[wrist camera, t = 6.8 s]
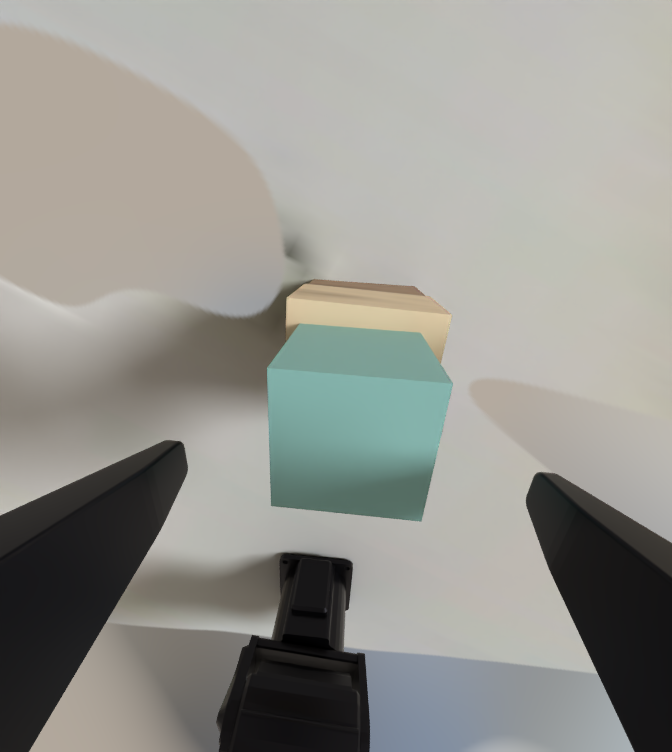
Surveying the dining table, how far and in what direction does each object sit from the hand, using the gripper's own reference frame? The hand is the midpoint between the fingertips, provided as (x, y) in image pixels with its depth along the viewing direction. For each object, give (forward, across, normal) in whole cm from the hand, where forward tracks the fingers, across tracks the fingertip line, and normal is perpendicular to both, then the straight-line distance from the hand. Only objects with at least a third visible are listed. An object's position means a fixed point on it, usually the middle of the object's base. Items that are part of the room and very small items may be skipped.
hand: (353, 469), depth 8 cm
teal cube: (+5, 0, 0) cm, 5 cm away
